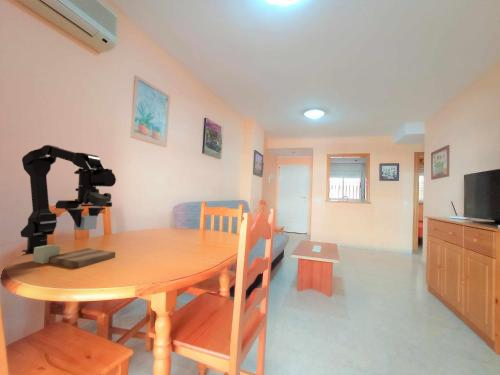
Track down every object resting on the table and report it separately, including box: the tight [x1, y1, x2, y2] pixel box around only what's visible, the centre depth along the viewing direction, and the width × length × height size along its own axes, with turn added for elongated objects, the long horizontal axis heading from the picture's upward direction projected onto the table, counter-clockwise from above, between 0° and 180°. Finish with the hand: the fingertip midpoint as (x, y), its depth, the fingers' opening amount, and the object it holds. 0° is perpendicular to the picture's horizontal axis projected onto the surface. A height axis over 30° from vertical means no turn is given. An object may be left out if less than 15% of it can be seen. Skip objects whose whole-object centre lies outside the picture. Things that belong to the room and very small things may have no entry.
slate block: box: [73, 214, 98, 231], centre depth 89 cm, size 5×5×5 cm
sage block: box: [32, 244, 61, 264], centre depth 81 cm, size 5×5×5 cm
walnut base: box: [48, 247, 116, 269], centre depth 84 cm, size 14×14×2 cm
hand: (85, 226), depth 89 cm, fingers closed on slate block, 5 cm apart
